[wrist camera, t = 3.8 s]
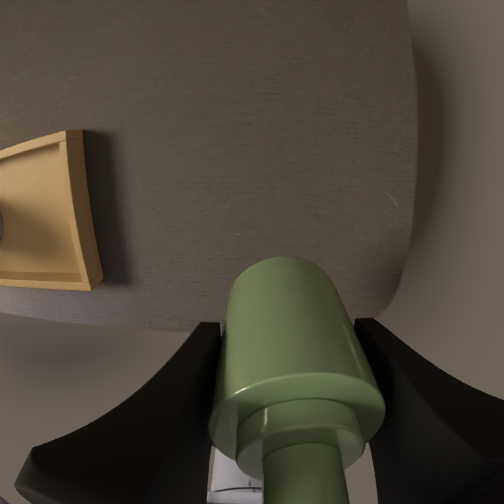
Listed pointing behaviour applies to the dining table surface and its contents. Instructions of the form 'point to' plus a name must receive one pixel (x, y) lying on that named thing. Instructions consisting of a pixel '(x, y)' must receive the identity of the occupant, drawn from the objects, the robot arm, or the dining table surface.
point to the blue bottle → (1, 226)
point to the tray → (47, 215)
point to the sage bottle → (292, 384)
